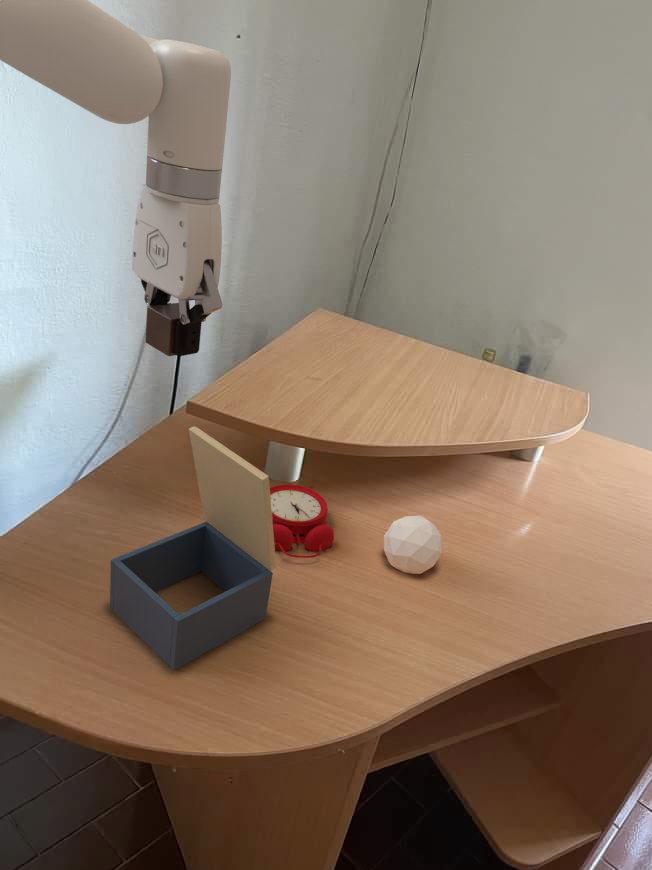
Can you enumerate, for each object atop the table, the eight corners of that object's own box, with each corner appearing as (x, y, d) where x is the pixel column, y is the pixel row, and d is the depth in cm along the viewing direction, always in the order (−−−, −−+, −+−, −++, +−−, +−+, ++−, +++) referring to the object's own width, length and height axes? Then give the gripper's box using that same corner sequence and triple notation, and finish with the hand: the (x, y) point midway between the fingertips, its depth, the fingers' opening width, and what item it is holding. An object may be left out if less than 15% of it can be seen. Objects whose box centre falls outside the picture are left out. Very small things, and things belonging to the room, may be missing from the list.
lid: (262, 480, 66) (269, 476, 66) (188, 428, 71) (194, 425, 72) (270, 571, 75) (276, 567, 75) (204, 519, 80) (209, 516, 81)
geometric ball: (397, 572, 97) (413, 517, 98) (444, 586, 91) (460, 528, 92) (363, 561, 91) (381, 503, 92) (411, 575, 86) (429, 513, 87)
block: (145, 342, 81) (146, 306, 79) (176, 337, 84) (178, 302, 82) (168, 356, 79) (171, 319, 77) (199, 351, 82) (202, 315, 80)
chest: (173, 677, 70) (178, 621, 66) (109, 614, 76) (110, 559, 72) (264, 625, 79) (273, 572, 75) (201, 572, 85) (206, 520, 81)
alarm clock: (321, 481, 101) (349, 521, 88) (316, 520, 103) (342, 566, 89) (250, 478, 98) (266, 519, 84) (246, 519, 100) (262, 566, 86)
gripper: (104, 159, 74) (102, 324, 83) (207, 202, 66) (192, 379, 75) (163, 162, 79) (155, 317, 88) (265, 203, 71) (244, 368, 80)
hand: (172, 344), depth 81 cm, fingers closed on block, 4 cm apart
